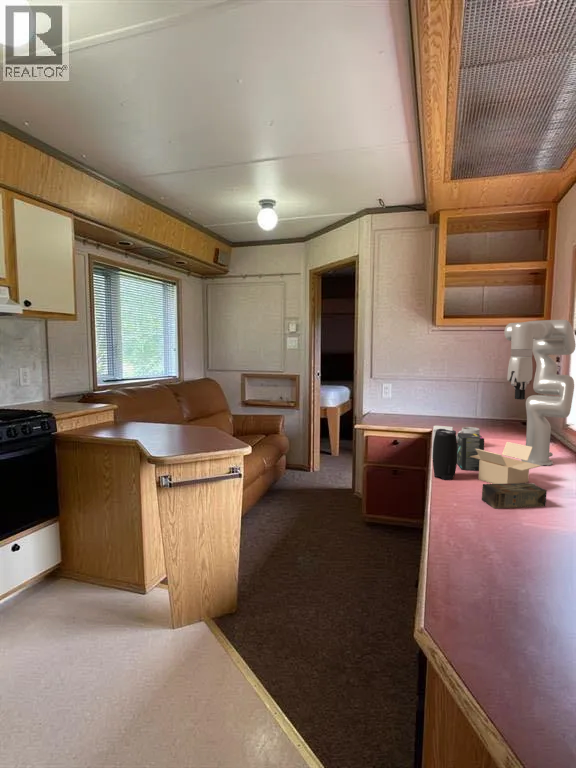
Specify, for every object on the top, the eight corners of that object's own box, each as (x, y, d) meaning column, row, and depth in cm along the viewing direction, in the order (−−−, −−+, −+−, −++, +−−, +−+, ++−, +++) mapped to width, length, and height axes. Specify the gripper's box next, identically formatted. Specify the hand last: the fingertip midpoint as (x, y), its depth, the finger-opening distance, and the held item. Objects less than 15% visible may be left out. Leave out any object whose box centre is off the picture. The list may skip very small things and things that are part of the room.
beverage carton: (547, 507, 136) (548, 488, 136) (493, 510, 134) (494, 490, 133) (530, 498, 144) (531, 480, 143) (479, 501, 142) (480, 482, 141)
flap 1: (475, 448, 161) (475, 449, 161) (501, 454, 152) (500, 455, 152) (481, 458, 163) (481, 459, 163) (506, 465, 154) (506, 465, 154)
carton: (488, 471, 176) (489, 452, 175) (541, 486, 157) (542, 465, 156) (467, 476, 169) (468, 456, 168) (520, 492, 150) (521, 470, 149)
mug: (479, 446, 222) (480, 428, 221) (477, 449, 214) (478, 430, 213) (458, 443, 228) (459, 425, 227) (455, 446, 220) (456, 428, 219)
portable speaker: (431, 473, 173) (433, 427, 171) (455, 475, 170) (457, 429, 168) (432, 479, 165) (433, 431, 163) (456, 481, 162) (458, 433, 160)
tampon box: (483, 471, 175) (485, 438, 174) (461, 470, 177) (462, 437, 176) (477, 464, 186) (478, 433, 185) (456, 463, 188) (457, 432, 187)
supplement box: (431, 458, 196) (432, 428, 194) (432, 454, 204) (433, 425, 203) (451, 460, 192) (452, 429, 191) (451, 456, 200) (452, 426, 199)
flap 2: (501, 454, 170) (502, 454, 170) (527, 460, 161) (527, 460, 161) (506, 441, 171) (507, 441, 171) (532, 446, 162) (532, 447, 162)
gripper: (523, 352, 169) (521, 396, 171) (501, 354, 162) (499, 399, 164) (541, 353, 163) (539, 398, 165) (519, 354, 155) (517, 402, 158)
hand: (519, 398), depth 164 cm, fingers closed
